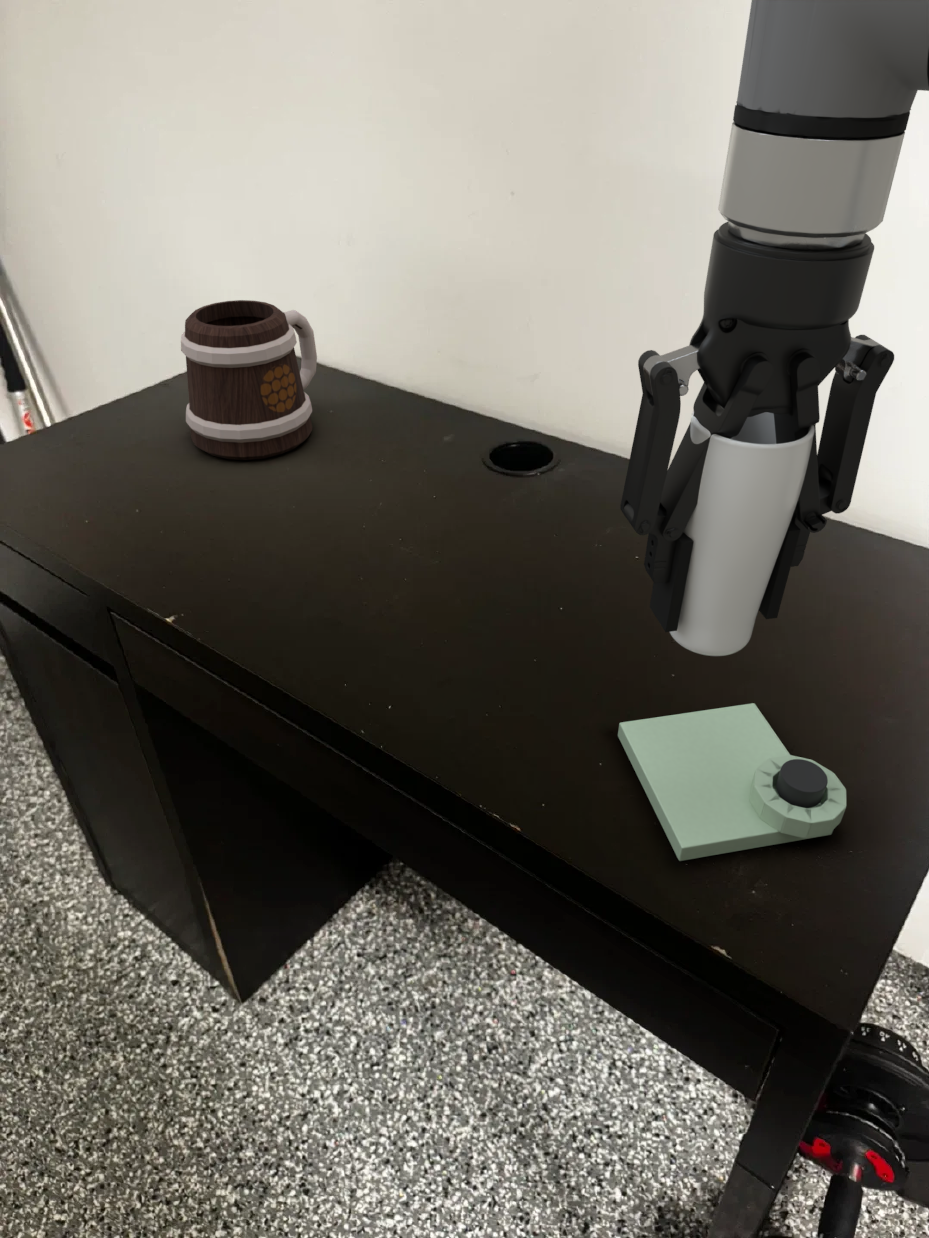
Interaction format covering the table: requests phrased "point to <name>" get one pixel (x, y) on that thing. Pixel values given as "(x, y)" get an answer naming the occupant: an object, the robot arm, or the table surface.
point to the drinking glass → (737, 531)
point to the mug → (248, 379)
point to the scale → (723, 782)
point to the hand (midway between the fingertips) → (712, 611)
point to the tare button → (801, 783)
